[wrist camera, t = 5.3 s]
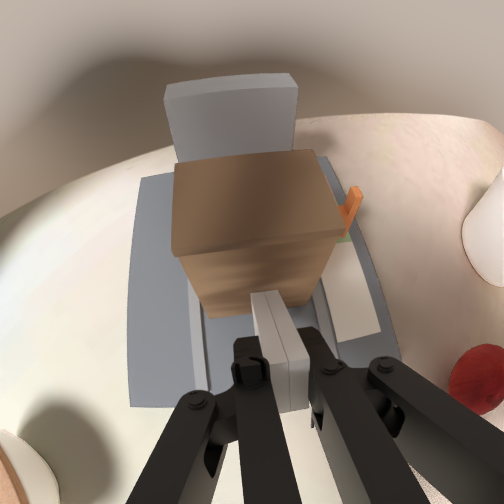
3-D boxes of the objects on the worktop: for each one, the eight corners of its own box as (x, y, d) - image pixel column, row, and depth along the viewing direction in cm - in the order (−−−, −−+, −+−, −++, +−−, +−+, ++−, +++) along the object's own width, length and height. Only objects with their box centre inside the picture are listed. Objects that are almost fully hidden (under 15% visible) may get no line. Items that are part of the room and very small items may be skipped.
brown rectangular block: (207, 320, 19) (171, 249, 11) (203, 256, 21) (174, 163, 13) (308, 306, 19) (346, 228, 11) (293, 245, 22) (312, 149, 14)
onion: (481, 391, 16) (541, 373, 9) (444, 430, 15) (508, 427, 8) (460, 344, 19) (518, 314, 12) (421, 380, 18) (485, 360, 11)
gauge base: (138, 407, 17) (35, 397, 7) (145, 188, 28) (111, 98, 18) (393, 367, 18) (495, 323, 8) (323, 167, 29) (343, 75, 19)
